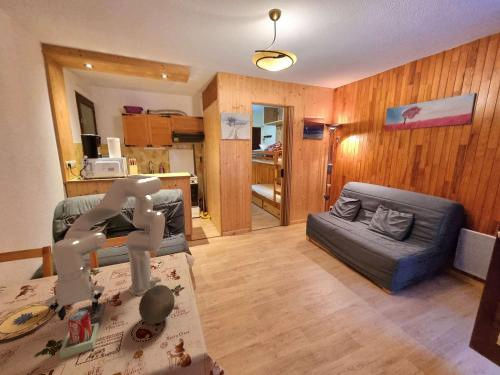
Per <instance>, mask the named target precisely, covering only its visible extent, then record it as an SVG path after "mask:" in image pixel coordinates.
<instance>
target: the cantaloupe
mask: <svg viewBox="0 0 500 375" xmlns="http://www.w3.org/2000/svg"><path fill="white" fill-rule="evenodd" d="M175 302H176V299H175V295H174V293H173V291H172V290H171V289H170V288H169V287H168V286H167V285H164V284H158V285H155V286H154V287H152V288H150V289H149V290H147V291H146V292H145V293H144V294H142V296H141V298H140V301H139V306H138V310H139V316H140V317H141V319H142V320H143V321H144V322H145V324H149V325H157V324H160V323H162V322H164V321H165V320H166V319H167V318H168V317H169V316H170V315H171V313H172V312H173V310H174V308H175Z"/></svg>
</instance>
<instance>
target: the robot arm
mask: <svg viewBox="0 0 500 375" xmlns="http://www.w3.org/2000/svg"><path fill="white" fill-rule="evenodd" d="M162 184H163V183H162V180H161V179H160V178H159V177H157V176H154V175H153V176H150V175H132V176H130V177H128V178H118V179H116V180H114V182H113V183H112V184H111V186H110V187H109V188H108V190H107V192H106V193H105V194H104V196H103V197H102V199H101V200H100V201H99V203H98V204H97V205H95V206H94V207H92V208H90V209H89V210H87V211H86V212H84V213H83V214H81V215H80V216H79V217H78V218H77V219H75V221H74V222H73V223H72V224H71V225H70V227H69V228H68V230H67V231H66V233H65V235H64V238H63V239H61V240H59V241H57V242H55V243H54V244H53V245H52V248H51V250H52V255H53V261H54V264H55V270H56V274H57V279H56V282H55V283H56V295H54V294H53V295H52V296H51V297H50V298H48V299H46V301H45V302H44V304H45V305H46V306H47V307H49V309H50V310H53V311H55V312H56V313H57V316H58V318H60V321H64V320H65V318H66V316H67V312H66V309H65V305H69V304H73V303H74V304H77V303H81V302H85V301H88V300H89V301H91V305H92V308H93V312H92V313H95V312H97V311H96V309H97V308H98V306H99V299H100V298H101V296H102V295H103V293H104V291H105V286H102V285H95V284H94V282H93V278H92V275H91V273H90V270H91V266H86V263H85V259H84V256H86V255H88V254H91V253H95V252H97V251H99V250H101V249H102V248H103V247H104V246H105V245H106V243H107V237H106V235H105V234H104V233H103V232H101V231H94V230H91V228H92V227H94V226H95V225H96V224H98V223H100V222H102V221H104V220H107V219H109V218H110V219H111V218H113V217H115V216H117V215H119V214H120V213H121V211H122V209H123V208H124V206H125V205H126V203H127V202H128V200H129V198H133V199H134V201H135V202H134V210H133V214H132V215H133V216H132V225H133V226H134V227H135V228H136V229H137V228H138V229H144V230H134V231H131V232H129V233H128V234H127V235H126V237H125V247H126V249H127V252H128V257H129V258H128V259H129V268H130V275H131V276H130V277H131V284H130V285H129V288H128V292H129V294H131V295H133V296H141V295H142V296H143V295H144V293H145V292H146V291H147V290H149V289H150V288H152V287H154V286H156V283H157V284H158V283H160V282H162V278H161V277H159V276H153V274H152V264H151V262H152V261H151V252H153V253H154V252H157V251H159V250H160V248H161V247H162V244H163V240H164V239H163V238H164V233H165V232H164V231H165V227H166V226H165V225H166V218H165V214H164V213H163V212H161V211H159V210H153V208H154V198H153V195H155V194H158V193H159V192H160V190H162V187H163V185H162ZM146 230H149V231H146ZM96 291H97V292H98V293H95V292H96ZM56 299H57V303H58V304H57V303H55V300H56ZM74 304H73V305H74Z"/></svg>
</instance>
